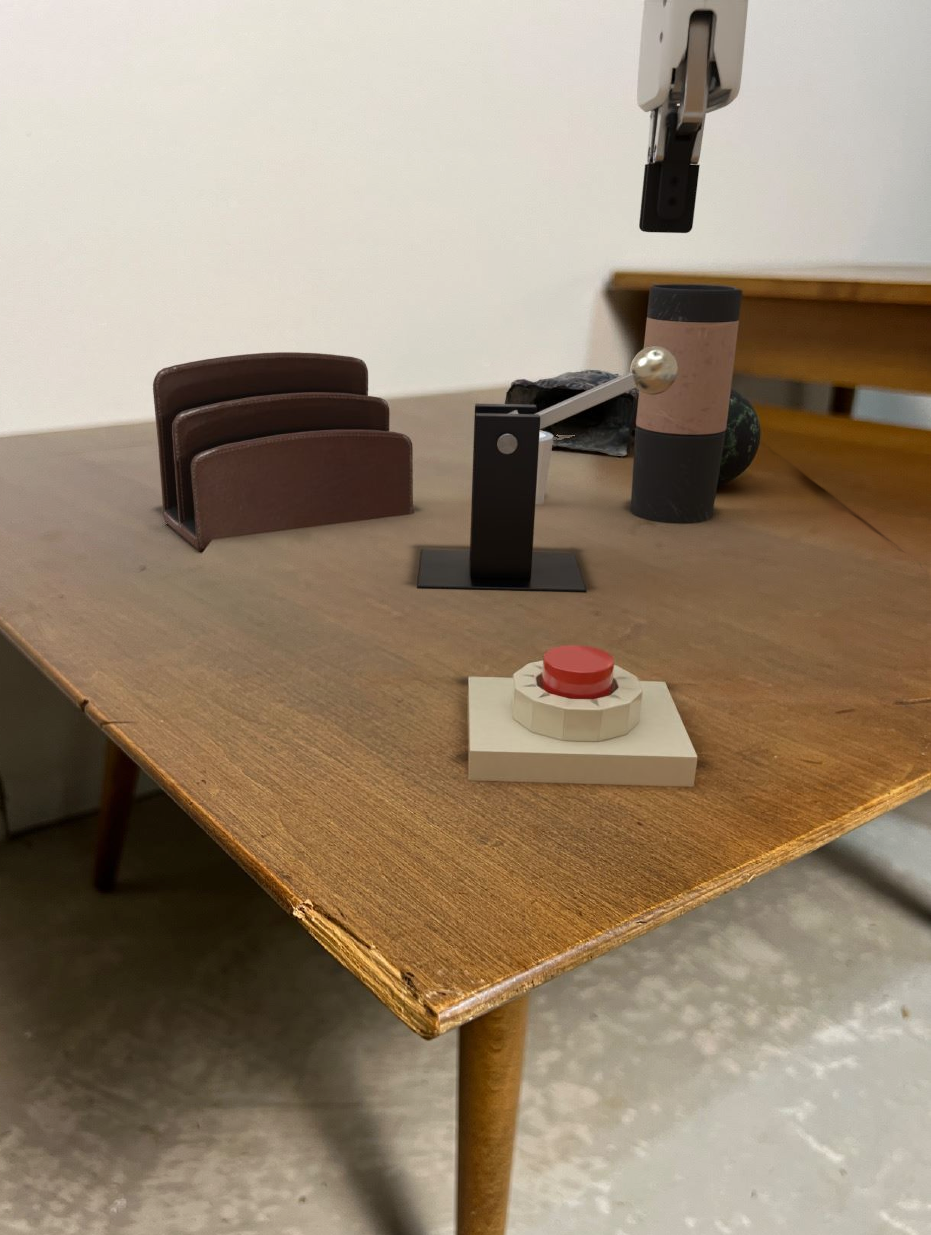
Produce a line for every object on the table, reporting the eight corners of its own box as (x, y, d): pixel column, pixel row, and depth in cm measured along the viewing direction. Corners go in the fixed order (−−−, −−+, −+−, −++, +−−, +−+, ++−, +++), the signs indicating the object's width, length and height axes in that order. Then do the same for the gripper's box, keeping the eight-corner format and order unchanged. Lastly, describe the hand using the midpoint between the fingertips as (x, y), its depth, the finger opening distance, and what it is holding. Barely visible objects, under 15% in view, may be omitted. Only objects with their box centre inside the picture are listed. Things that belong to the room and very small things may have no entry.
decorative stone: (712, 471, 116) (724, 376, 112) (774, 492, 107) (789, 390, 103) (633, 478, 112) (643, 380, 108) (691, 501, 104) (703, 395, 100)
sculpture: (495, 441, 127) (573, 415, 152) (625, 464, 121) (684, 433, 146) (503, 373, 124) (581, 358, 149) (637, 393, 118) (695, 373, 143)
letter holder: (162, 523, 94) (148, 357, 88) (365, 499, 103) (364, 346, 97) (197, 553, 86) (184, 372, 80) (414, 524, 95) (416, 359, 89)
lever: (679, 379, 75) (664, 335, 74) (688, 386, 72) (672, 341, 71) (495, 459, 78) (478, 418, 77) (496, 469, 75) (478, 427, 74)
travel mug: (609, 521, 97) (629, 285, 88) (662, 508, 101) (686, 282, 93) (678, 540, 91) (706, 291, 83) (731, 525, 96) (763, 287, 88)
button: (606, 676, 57) (609, 645, 56) (616, 704, 53) (619, 672, 53) (538, 674, 57) (541, 643, 56) (543, 703, 54) (546, 670, 53)
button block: (662, 708, 60) (668, 651, 59) (693, 787, 52) (702, 723, 51) (467, 703, 61) (469, 646, 59) (468, 781, 52) (470, 716, 51)
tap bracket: (573, 566, 84) (585, 400, 79) (585, 605, 76) (600, 423, 71) (420, 563, 84) (423, 397, 79) (416, 601, 76) (419, 419, 71)
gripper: (803, -146, 56) (750, 236, 63) (735, -77, 69) (699, 231, 77) (658, -148, 56) (623, 233, 63) (619, -79, 69) (594, 228, 77)
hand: (664, 231), depth 70 cm, fingers closed
